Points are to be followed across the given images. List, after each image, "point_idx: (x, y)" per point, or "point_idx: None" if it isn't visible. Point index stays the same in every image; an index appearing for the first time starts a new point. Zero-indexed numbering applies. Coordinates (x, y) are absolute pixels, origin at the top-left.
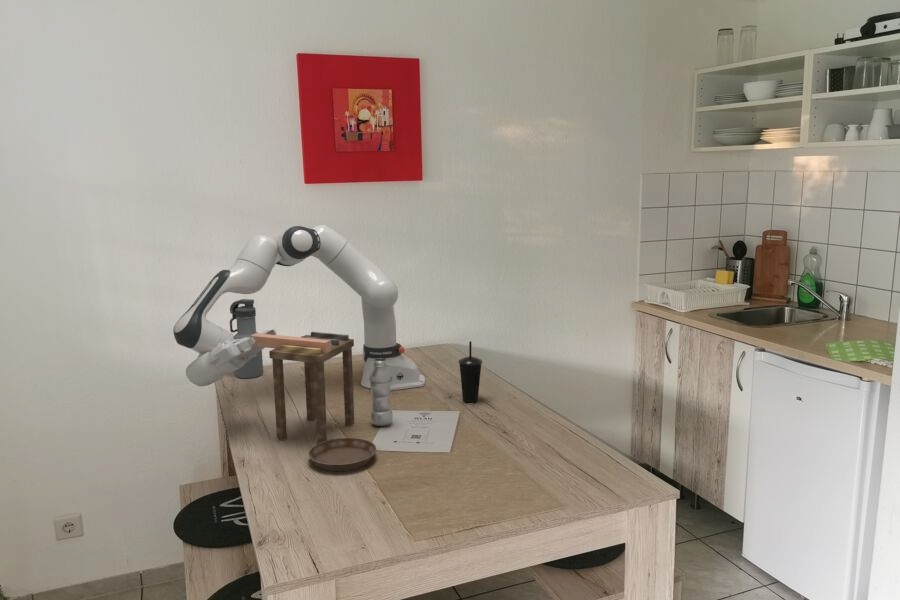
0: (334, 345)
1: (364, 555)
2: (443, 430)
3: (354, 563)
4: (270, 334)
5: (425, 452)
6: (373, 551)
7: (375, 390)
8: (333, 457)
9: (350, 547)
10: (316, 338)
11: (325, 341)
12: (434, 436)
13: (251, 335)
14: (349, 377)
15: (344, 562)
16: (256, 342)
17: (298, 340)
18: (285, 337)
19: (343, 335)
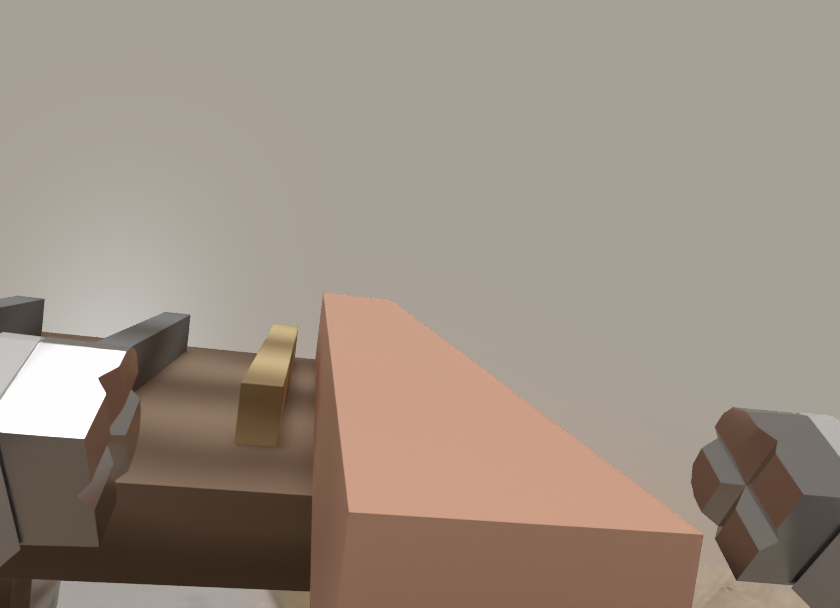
0: (184, 354)
1: (741, 582)
2: (77, 594)
3: (770, 586)
4: (106, 459)
5: (276, 597)
6: (720, 576)
7: (56, 581)
8: None
9: (751, 601)
10: (146, 337)
11: (362, 298)
12: (138, 602)
13: (649, 523)
14: (30, 592)
15: (786, 596)
16: (704, 491)
17: (420, 322)
18: (388, 339)
19: (32, 301)
